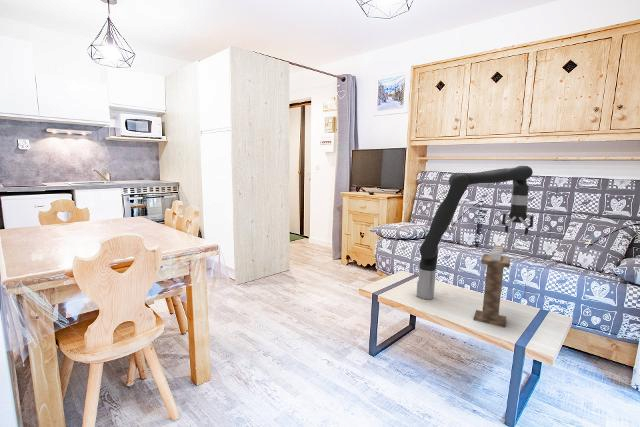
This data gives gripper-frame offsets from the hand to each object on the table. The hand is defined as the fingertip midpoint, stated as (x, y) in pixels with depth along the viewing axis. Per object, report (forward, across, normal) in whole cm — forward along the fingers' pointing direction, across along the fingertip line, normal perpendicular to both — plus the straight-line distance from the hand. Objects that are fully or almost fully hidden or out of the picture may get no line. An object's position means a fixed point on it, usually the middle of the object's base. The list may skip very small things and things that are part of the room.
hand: (516, 233), depth 176 cm
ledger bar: (+9, -6, -19) cm, 22 cm away
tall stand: (+41, -6, -24) cm, 48 cm away
